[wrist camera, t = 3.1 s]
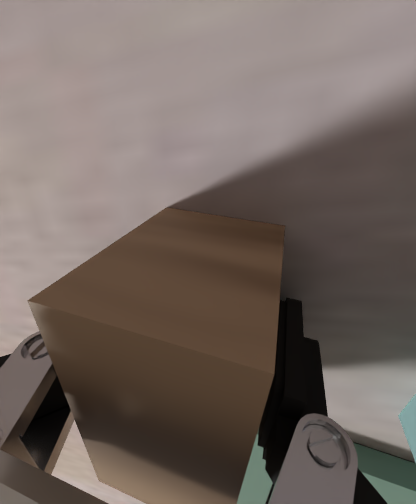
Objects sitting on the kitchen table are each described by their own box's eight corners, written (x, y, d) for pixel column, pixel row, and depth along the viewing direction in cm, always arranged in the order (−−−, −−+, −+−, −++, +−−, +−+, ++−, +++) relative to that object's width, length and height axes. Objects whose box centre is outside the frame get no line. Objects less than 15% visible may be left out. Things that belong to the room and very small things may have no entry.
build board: (215, 396, 14) (209, 417, 13) (462, 479, 11) (479, 514, 10) (205, 481, 20) (201, 500, 19) (367, 550, 17) (372, 577, 16)
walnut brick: (167, 206, 10) (27, 301, 4) (285, 224, 9) (274, 374, 3) (171, 345, 13) (99, 480, 8) (252, 370, 12) (225, 541, 7)
